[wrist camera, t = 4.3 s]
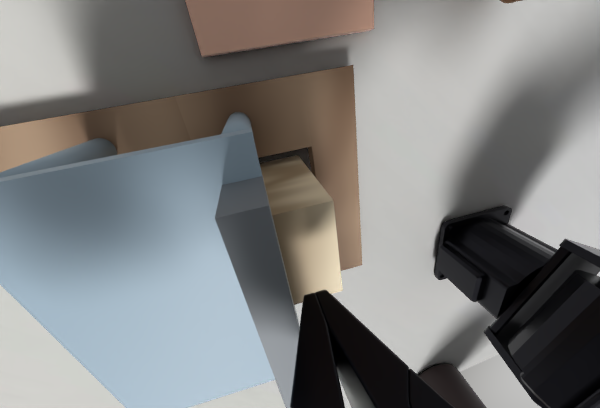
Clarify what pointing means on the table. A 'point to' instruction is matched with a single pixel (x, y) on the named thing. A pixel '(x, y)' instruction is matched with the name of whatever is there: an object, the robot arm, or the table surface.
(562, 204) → the table surface
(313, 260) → the maple block
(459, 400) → the bottle
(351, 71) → the puzzle board
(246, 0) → the terracotta tile
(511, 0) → the tin
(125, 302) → the light blue toy bench
